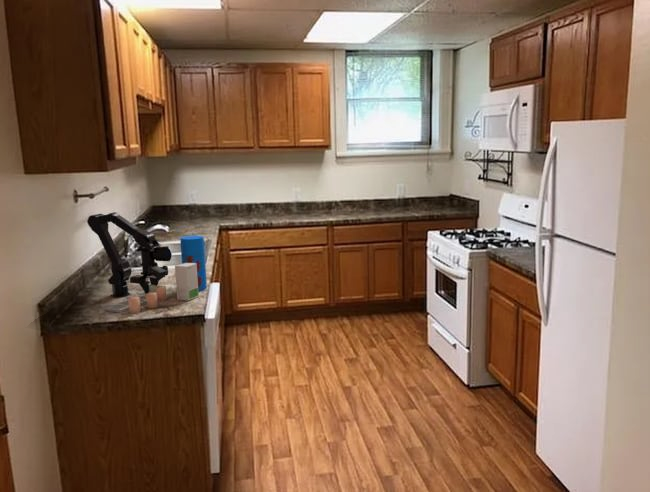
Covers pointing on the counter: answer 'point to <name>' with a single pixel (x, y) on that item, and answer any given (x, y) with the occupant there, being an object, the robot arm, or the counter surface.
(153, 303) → the salmon pink egg
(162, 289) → the glossy pink ovoid
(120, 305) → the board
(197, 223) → the counter surface
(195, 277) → the skincare box
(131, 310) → the peach colored egg
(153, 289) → the pale green block
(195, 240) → the thermos
